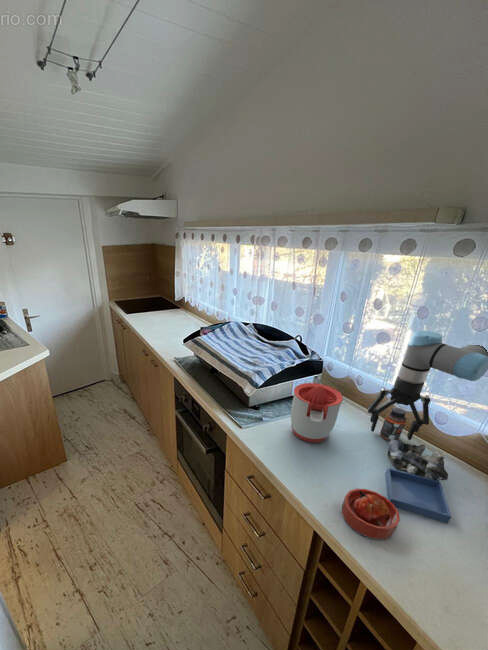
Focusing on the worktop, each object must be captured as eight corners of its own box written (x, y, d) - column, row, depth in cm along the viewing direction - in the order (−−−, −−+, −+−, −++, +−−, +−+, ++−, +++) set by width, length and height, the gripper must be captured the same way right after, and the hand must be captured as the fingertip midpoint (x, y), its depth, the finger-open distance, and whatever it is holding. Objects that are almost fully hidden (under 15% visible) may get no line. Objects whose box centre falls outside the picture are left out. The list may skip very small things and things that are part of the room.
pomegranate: (384, 525, 80) (365, 486, 84) (404, 525, 73) (382, 484, 77) (360, 534, 78) (342, 495, 82) (378, 535, 72) (357, 492, 76)
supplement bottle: (395, 444, 106) (406, 417, 101) (377, 436, 110) (386, 410, 105) (401, 437, 110) (411, 410, 104) (382, 429, 113) (392, 403, 108)
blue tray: (437, 488, 89) (440, 481, 87) (447, 523, 78) (451, 516, 77) (384, 473, 94) (387, 467, 93) (388, 505, 83) (391, 498, 82)
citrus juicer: (285, 445, 106) (294, 395, 97) (287, 418, 121) (295, 372, 111) (334, 454, 102) (348, 403, 92) (330, 425, 116) (342, 378, 107)
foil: (427, 446, 100) (453, 450, 86) (422, 478, 99) (447, 488, 85) (387, 437, 103) (406, 439, 89) (381, 468, 103) (399, 476, 88)
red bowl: (391, 509, 82) (397, 498, 80) (396, 548, 72) (402, 536, 70) (342, 494, 87) (345, 483, 85) (340, 528, 77) (344, 516, 75)
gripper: (452, 380, 97) (427, 436, 107) (370, 367, 106) (354, 420, 117) (458, 391, 91) (431, 449, 102) (370, 376, 100) (354, 431, 111)
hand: (390, 433), depth 109 cm, fingers open, 11 cm apart
